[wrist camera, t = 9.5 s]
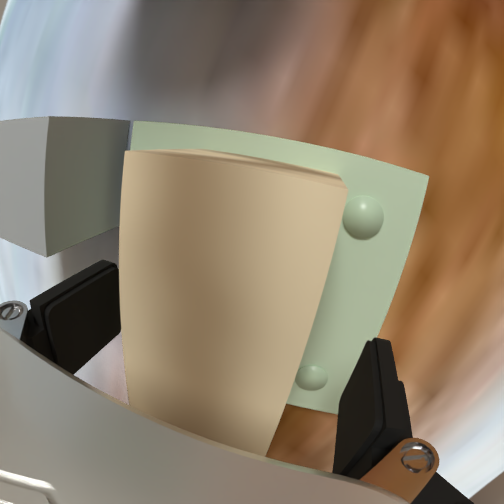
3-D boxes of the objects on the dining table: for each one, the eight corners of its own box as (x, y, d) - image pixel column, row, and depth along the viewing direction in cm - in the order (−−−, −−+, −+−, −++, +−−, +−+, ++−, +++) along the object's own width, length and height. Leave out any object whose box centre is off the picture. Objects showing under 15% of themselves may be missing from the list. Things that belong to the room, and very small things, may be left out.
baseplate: (422, 174, 12) (430, 176, 11) (339, 403, 17) (339, 416, 16) (144, 121, 15) (132, 120, 14) (133, 342, 19) (125, 351, 18)
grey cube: (130, 120, 15) (49, 116, 9) (121, 225, 17) (46, 257, 11) (60, 120, 16) (-13, 122, 10) (55, 208, 18) (-13, 231, 12)
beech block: (338, 174, 12) (348, 189, 7) (280, 389, 17) (257, 474, 11) (203, 148, 13) (125, 150, 8) (182, 360, 17) (133, 430, 12)
